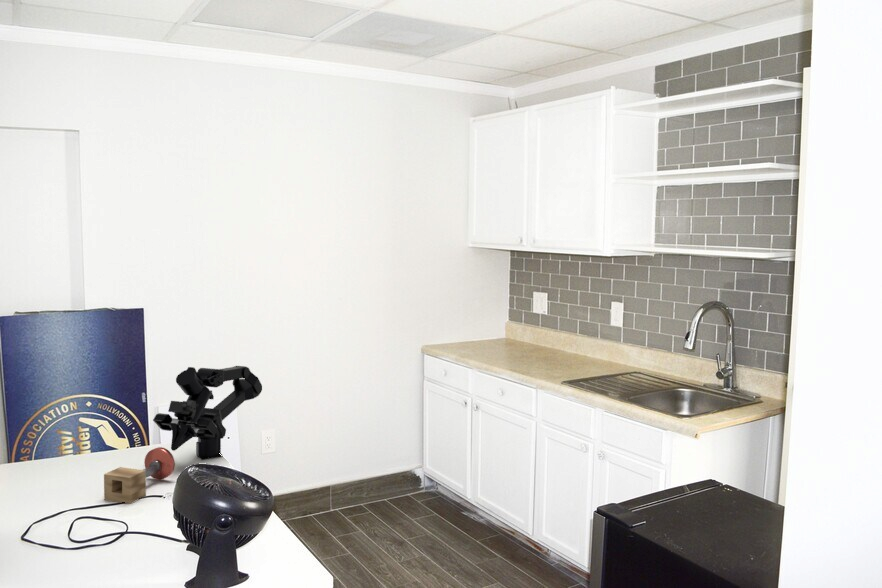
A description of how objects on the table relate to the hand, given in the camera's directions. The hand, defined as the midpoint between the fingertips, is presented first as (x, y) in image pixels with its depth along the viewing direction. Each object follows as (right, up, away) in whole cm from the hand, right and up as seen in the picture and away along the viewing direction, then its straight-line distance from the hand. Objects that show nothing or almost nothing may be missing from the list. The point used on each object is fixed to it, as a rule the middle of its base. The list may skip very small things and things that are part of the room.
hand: (172, 449), depth 203 cm
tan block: (-5, -8, -18) cm, 21 cm away
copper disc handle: (-3, -7, -9) cm, 12 cm away
